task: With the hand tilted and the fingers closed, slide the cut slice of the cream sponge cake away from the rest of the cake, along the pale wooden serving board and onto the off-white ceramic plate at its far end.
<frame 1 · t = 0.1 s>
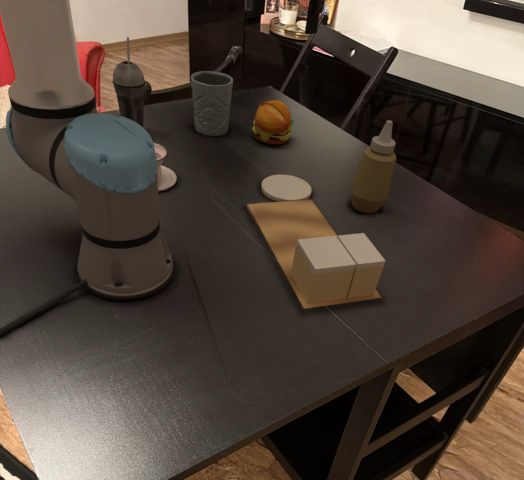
hand: (283, 23, 93), 28 cm above the table, tool pointing down, fingers open, 13 cm apart
squeeze bottle: (364, 207, 104), on the table
drinking glass: (210, 129, 123), on the table
serving board: (307, 250, 90), on the table
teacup: (148, 180, 102), on the table
beverage cup: (133, 134, 116), on the table
cheeseburger: (271, 139, 122), on the table
cake: (317, 285, 81), resting on serving board
cake slice: (350, 281, 83), point 1 cm above the table, touching serving board
plate: (286, 190, 105), on the table
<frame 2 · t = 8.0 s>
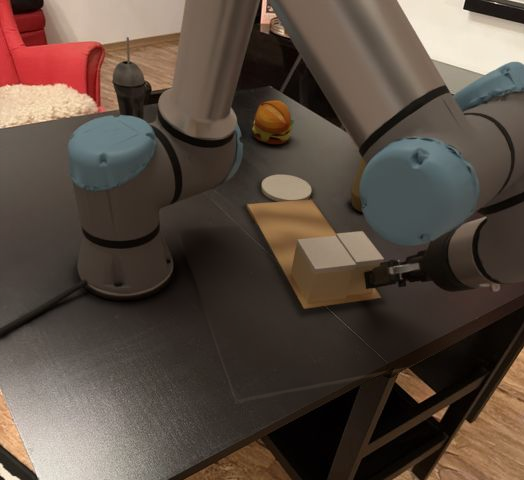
hand: (369, 280, 77), 5 cm above the table, tool tilted 45°, fingers closed
cake slice: (349, 279, 83), point 1 cm above the table, touching gripper
everything else where it was.
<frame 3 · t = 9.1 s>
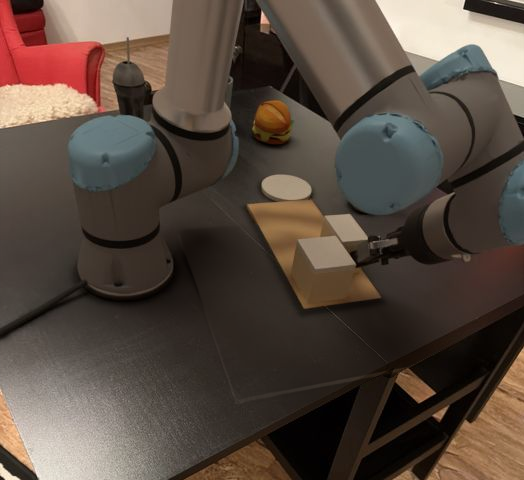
hand: (354, 260, 81), 5 cm above the table, tool tilted 45°, fingers closed
cake slice: (337, 260, 87), point 1 cm above the table
everything else where it was.
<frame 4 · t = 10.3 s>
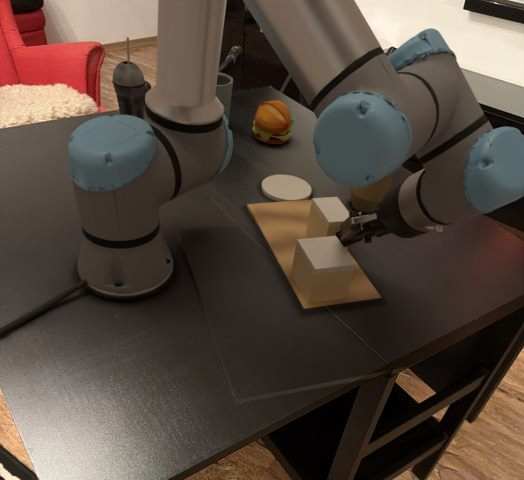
hand: (340, 239, 84), 5 cm above the table, tool tilted 45°, fingers closed
cake slice: (325, 241, 91), point 1 cm above the table, touching gripper
everything else where it was.
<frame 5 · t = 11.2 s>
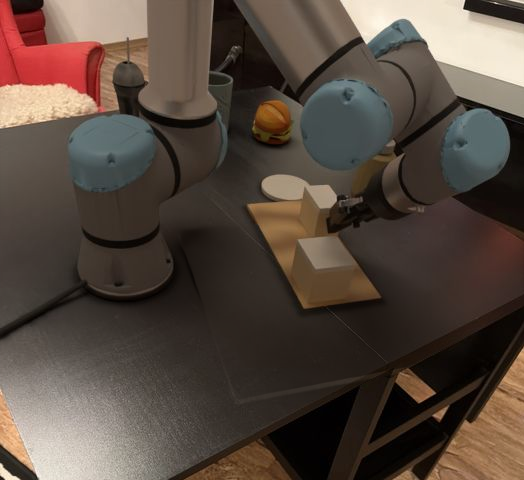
hand: (330, 225, 87), 5 cm above the table, tool tilted 45°, fingers closed
cake slice: (317, 228, 94), point 1 cm above the table, touching gripper
everything else where it was.
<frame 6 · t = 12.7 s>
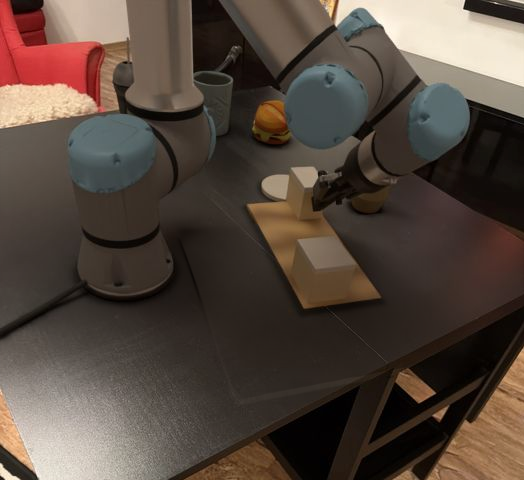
hand: (315, 204, 92), 5 cm above the table, tool tilted 45°, fingers closed
cake slice: (303, 208, 98), point 1 cm above the table, touching gripper, plate, serving board
everything else where it was.
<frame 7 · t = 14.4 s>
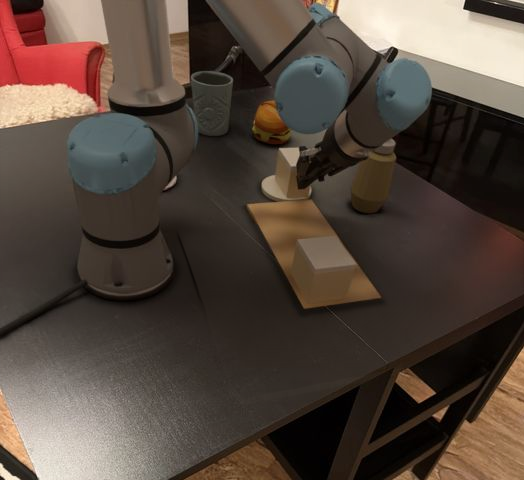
hand: (300, 182, 97), 5 cm above the table, tool tilted 45°, fingers closed
cake slice: (291, 187, 104), point 1 cm above the table, touching plate
everything else where it was.
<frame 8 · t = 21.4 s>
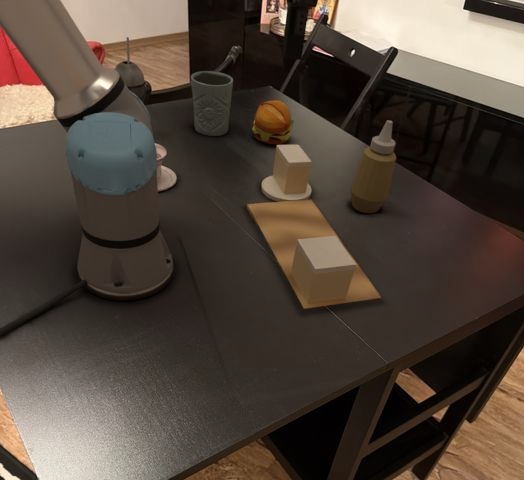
hand: (291, 57, 73), 29 cm above the table, tool pointing down, fingers closed
cake slice: (288, 184, 105), point 1 cm above the table, touching plate
everything else where it was.
at the end: cake slice inside the target area on the plate (1.1 cm from its centre), point 1.0 cm above the plate's base; cake slice moved 34.0 cm from its start; cake slice tilted 0° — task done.
